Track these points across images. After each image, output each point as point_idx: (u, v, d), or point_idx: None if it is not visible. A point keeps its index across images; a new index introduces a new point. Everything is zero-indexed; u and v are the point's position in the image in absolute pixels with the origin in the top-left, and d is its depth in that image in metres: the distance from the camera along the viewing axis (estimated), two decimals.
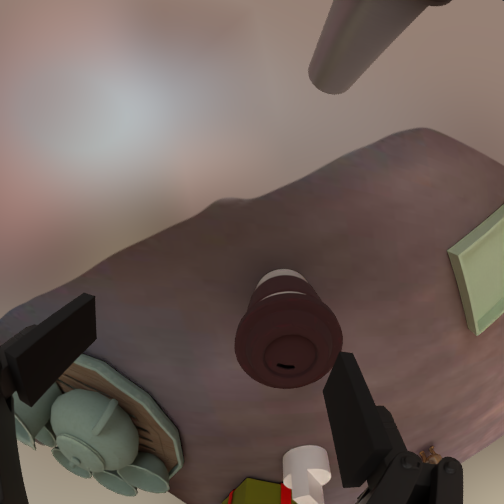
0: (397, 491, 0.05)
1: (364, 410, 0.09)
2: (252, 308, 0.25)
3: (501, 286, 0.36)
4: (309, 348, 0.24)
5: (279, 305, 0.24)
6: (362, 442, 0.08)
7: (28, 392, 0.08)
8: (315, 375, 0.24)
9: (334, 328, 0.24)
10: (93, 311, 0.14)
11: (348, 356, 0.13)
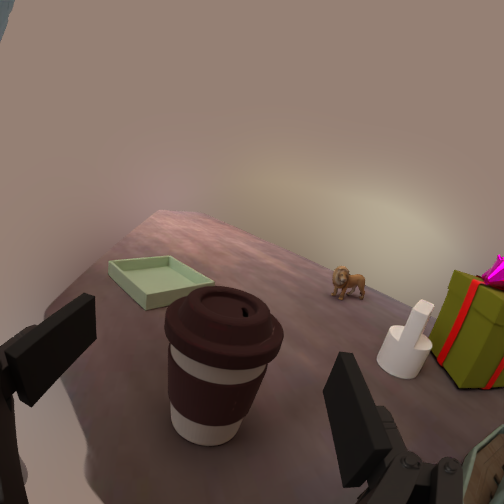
0: (397, 491, 0.05)
1: (364, 410, 0.09)
2: (185, 349, 0.20)
3: (174, 277, 0.62)
4: (216, 299, 0.25)
5: (174, 322, 0.21)
6: (362, 442, 0.08)
7: (28, 392, 0.08)
8: (244, 292, 0.26)
9: None
10: (93, 311, 0.14)
11: (348, 356, 0.13)
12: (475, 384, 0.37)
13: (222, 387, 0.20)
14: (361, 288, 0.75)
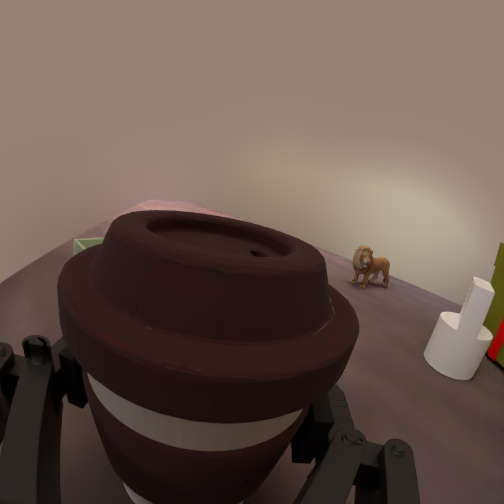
0: (342, 468, 0.07)
1: None
2: (82, 351, 0.05)
3: None
4: (191, 234, 0.11)
5: (73, 275, 0.07)
6: (307, 415, 0.09)
7: (81, 393, 0.09)
8: (254, 224, 0.12)
9: None
10: None
11: None
12: None
13: (204, 459, 0.06)
14: (385, 274, 0.61)
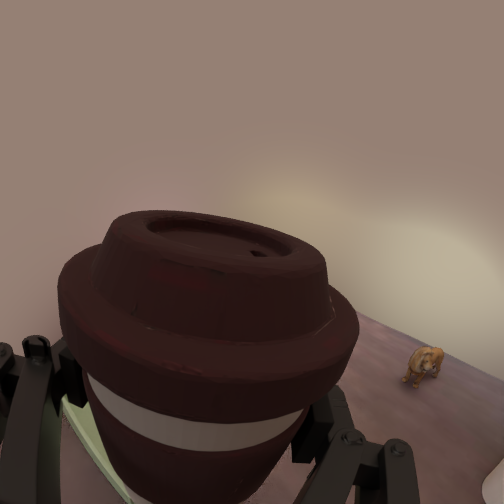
0: (342, 468, 0.07)
1: None
2: (82, 352, 0.05)
3: None
4: (191, 234, 0.11)
5: (73, 275, 0.07)
6: (307, 415, 0.09)
7: (81, 393, 0.09)
8: (254, 224, 0.12)
9: None
10: None
11: None
12: None
13: (204, 459, 0.06)
14: (438, 365, 0.45)
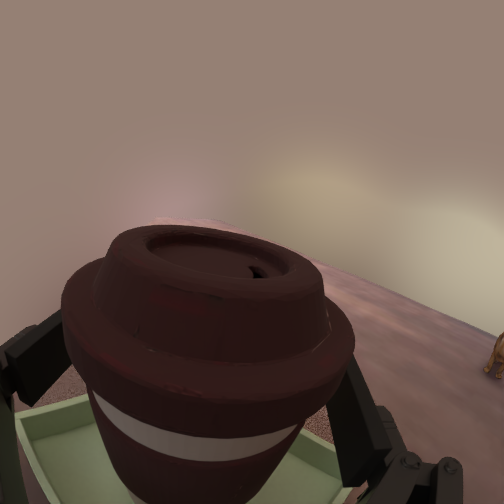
0: (397, 491, 0.05)
1: (364, 410, 0.09)
2: (87, 371, 0.06)
3: None
4: (191, 249, 0.11)
5: (75, 294, 0.07)
6: (362, 442, 0.08)
7: (28, 392, 0.08)
8: (253, 237, 0.12)
9: None
10: None
11: None
12: None
13: (205, 469, 0.06)
14: None
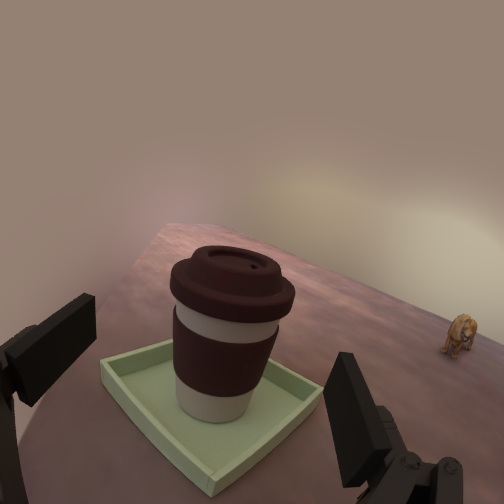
0: (397, 491, 0.05)
1: (364, 410, 0.09)
2: (193, 302, 0.19)
3: None
4: (224, 257, 0.24)
5: (181, 276, 0.21)
6: (362, 442, 0.08)
7: (28, 392, 0.08)
8: (252, 251, 0.26)
9: None
10: (93, 311, 0.14)
11: (348, 356, 0.13)
12: None
13: (232, 346, 0.20)
14: (473, 337, 0.44)
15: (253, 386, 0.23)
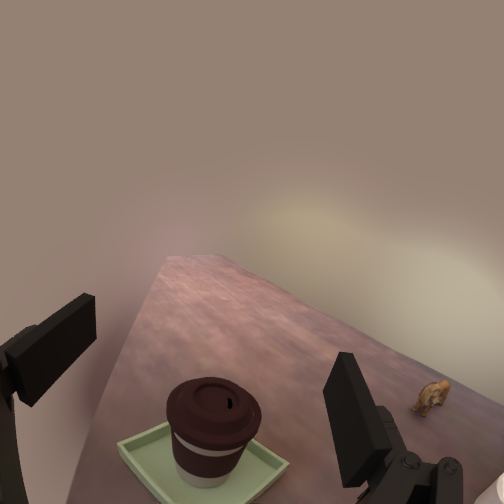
0: (397, 491, 0.05)
1: (364, 410, 0.09)
2: (183, 437, 0.23)
3: None
4: (207, 390, 0.28)
5: (174, 414, 0.24)
6: (362, 442, 0.08)
7: (28, 392, 0.08)
8: (230, 382, 0.29)
9: (189, 382, 0.30)
10: (93, 311, 0.14)
11: (348, 356, 0.13)
12: None
13: (213, 458, 0.24)
14: (445, 396, 0.47)
15: (231, 470, 0.27)
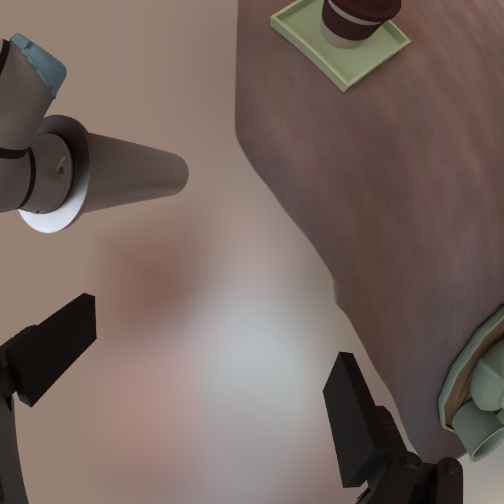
0: (397, 491, 0.05)
1: (364, 410, 0.09)
2: (344, 9, 0.23)
3: None
4: None
5: None
6: (362, 442, 0.08)
7: (28, 392, 0.08)
8: None
9: None
10: (93, 311, 0.14)
11: (348, 356, 0.13)
12: None
13: (363, 26, 0.26)
14: None
15: (369, 36, 0.30)
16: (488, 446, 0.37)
